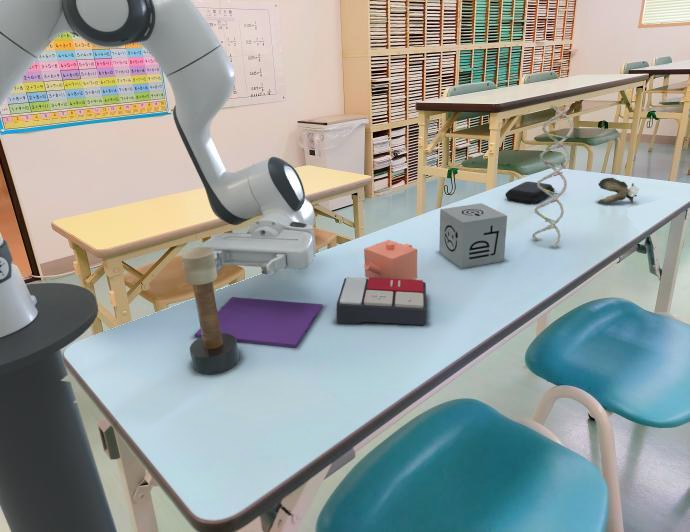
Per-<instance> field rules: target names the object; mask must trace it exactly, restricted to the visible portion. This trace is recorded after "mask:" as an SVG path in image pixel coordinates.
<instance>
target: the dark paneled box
mask: <svg viewBox="0 0 690 532" xmlns="http://www.w3.org/2000/svg"><path fill="white" fill-rule="evenodd" d="M426 287H427V283H426V282H425V281H424V280H423V279H413V280H409V279H390V278H371V277H370V278H367V277H355V276H354V277H351V276H348V277H345V278H344V279H343V282H342V285H341V289H340V292H339V294H338V298H337V301H336V323H339V324H351V325H359V324H362V323H364V322H367V323H369V322H370V323H383V324H400V325H414V326H415V325H416V326H425V325H426V323H427V322H426V320H427V290H426V289H427V288H426Z"/></svg>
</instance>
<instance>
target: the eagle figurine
mask: <svg viewBox="0 0 690 532" xmlns="http://www.w3.org/2000/svg"><path fill="white" fill-rule="evenodd" d="M597 184H598V187H599V188H600V189H602V190H605V191H608V192H614V193H615V194H611V195H608V196H606V197H605V198H602V199H599V200H598V201H597V203H598V204H601V205H608V204H612V203H615V202H619V201H624V200H626V198H627V199H628V200H629V201H630V203H632V204H633V203H634V197H638V195H637V193H638V192H639V190H640V189H639V188H638V186H637V185H635V184H634V182H632V183H631V187H628V184H627V183H626V182H625V181H622V180H619V179H616V178H614V177H605V178H602V179H600V180H599V182H598V183H597Z"/></svg>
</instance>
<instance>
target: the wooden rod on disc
mask: <svg viewBox="0 0 690 532" xmlns="http://www.w3.org/2000/svg"><path fill="white" fill-rule="evenodd" d="M180 259H181V263H182V268H183V274H184V278H185V282H186V283H187V284H188V285H191V286H192V290H193V294H194V301H195V306H196V311H197V317H198V321H199V327H200V328H199V329H201V333H202V337H200V338H199V337H197V339H195V340H194V341H193V342H192V343H191V345H190V346H189V353H190V360H191V363H192V367H193V369H194V371H195V372H197V373H199V374H202V375H218V374H221V373H224V372H227V371H229V370H231V369H232V368H234V367H236V365H238V363H239V361H240V353H239V347H238V342H237V340H236V338H235V337H234V336H233V335H230V334H227V333H221V330H220V324H219V318H218V306H217V301H216V294H215V288H214V281H215V280H217V278H218V271H216V265H215V258H214V252H213V249H211V248H207V247H201V246H200V247H199V246H198V247H193V248H190V249H186V250H184V251H183V252H182V253H181V254H180Z"/></svg>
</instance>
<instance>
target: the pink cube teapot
mask: <svg viewBox="0 0 690 532" xmlns="http://www.w3.org/2000/svg"><path fill="white" fill-rule="evenodd" d="M363 258H364V265H363V268H364V278H366V279H369V278H370V277H371V278H390V279H409V280H417V278H418V249H417V248H414V247H413V245H412V244H410V243H404V244H403V243H399V242H397V241H393V240H390V239H387V240H383V241H382V242H379V243H376V244H373V245H371V246H368V247H365V248H363Z"/></svg>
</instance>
